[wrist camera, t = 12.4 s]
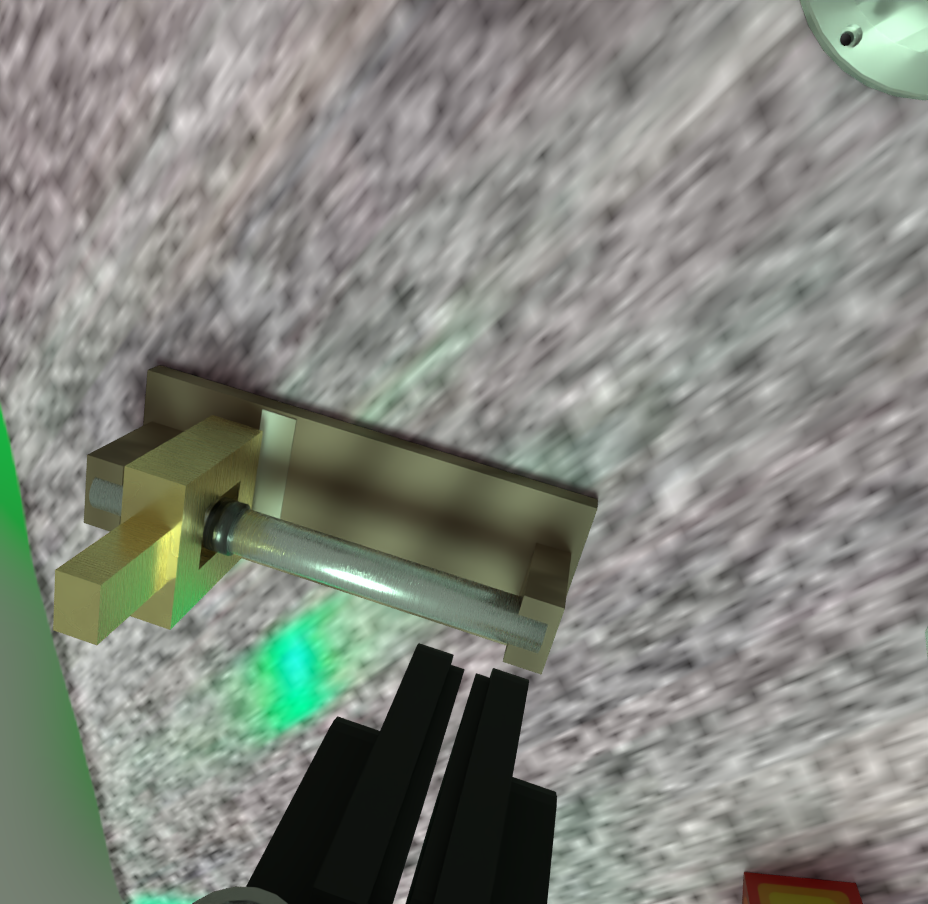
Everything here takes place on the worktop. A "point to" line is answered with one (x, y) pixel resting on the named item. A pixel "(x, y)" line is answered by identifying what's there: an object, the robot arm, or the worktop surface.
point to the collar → (159, 534)
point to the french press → (927, 640)
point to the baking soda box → (796, 890)
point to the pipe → (355, 569)
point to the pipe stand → (380, 496)
